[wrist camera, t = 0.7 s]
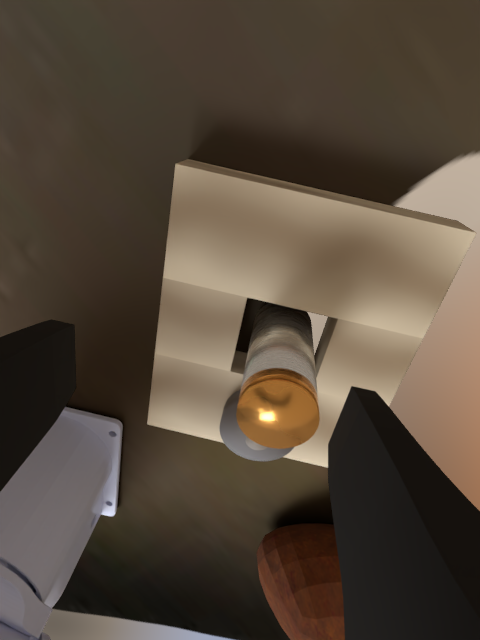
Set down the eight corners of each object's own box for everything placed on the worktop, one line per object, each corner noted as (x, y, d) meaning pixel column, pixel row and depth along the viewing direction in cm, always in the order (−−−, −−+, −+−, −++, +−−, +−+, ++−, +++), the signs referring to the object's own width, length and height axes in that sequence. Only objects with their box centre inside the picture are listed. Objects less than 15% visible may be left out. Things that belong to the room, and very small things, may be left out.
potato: (254, 492, 26) (240, 628, 19) (433, 498, 25) (490, 650, 18) (263, 560, 30) (254, 696, 23) (420, 569, 28) (463, 720, 21)
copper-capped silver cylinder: (302, 356, 21) (306, 456, 15) (248, 343, 21) (229, 438, 15) (318, 307, 19) (330, 396, 13) (260, 294, 19) (245, 375, 13)
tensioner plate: (350, 447, 23) (359, 502, 20) (158, 401, 23) (135, 448, 20) (457, 220, 17) (498, 246, 13) (187, 159, 17) (161, 169, 13)
